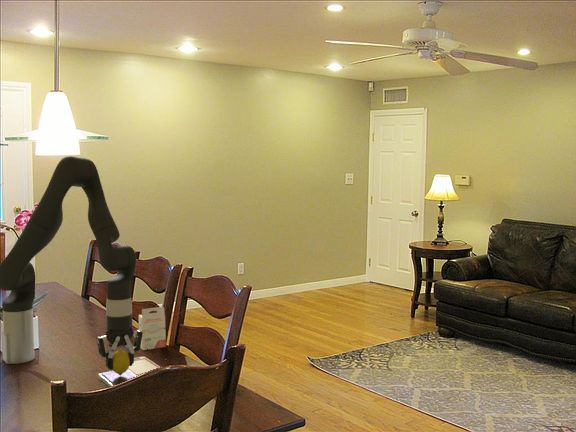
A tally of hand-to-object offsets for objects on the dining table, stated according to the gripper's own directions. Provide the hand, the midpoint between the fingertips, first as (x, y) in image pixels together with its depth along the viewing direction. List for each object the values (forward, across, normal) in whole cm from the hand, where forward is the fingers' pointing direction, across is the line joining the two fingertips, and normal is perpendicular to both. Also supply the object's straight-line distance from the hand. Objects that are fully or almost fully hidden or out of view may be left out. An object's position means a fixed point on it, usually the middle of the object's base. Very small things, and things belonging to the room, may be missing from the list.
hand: (120, 367), depth 191 cm
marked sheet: (+4, +10, +8) cm, 13 cm away
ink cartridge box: (+5, +22, +26) cm, 34 cm away
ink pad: (+4, 0, 0) cm, 4 cm away
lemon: (+3, 0, 0) cm, 3 cm away
